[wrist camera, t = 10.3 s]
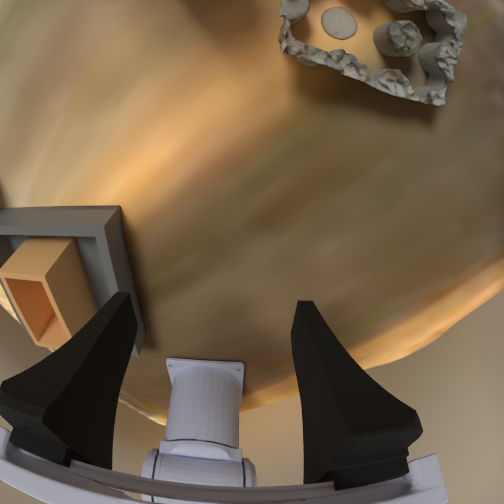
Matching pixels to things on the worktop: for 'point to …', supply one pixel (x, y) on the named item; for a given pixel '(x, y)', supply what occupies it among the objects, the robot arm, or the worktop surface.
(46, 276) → the orange crate
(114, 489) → the robot arm
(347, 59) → the egg carton
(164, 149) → the worktop surface
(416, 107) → the worktop surface
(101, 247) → the charcoal bin
